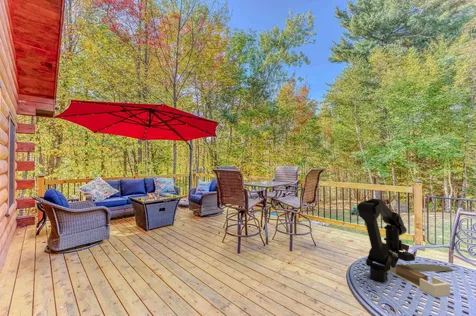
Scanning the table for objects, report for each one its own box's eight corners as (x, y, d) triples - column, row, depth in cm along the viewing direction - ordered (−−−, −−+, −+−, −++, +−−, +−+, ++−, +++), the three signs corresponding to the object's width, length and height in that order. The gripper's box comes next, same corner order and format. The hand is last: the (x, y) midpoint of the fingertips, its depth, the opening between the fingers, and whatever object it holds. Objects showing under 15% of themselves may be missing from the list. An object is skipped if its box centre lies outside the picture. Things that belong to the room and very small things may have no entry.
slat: (420, 287, 94) (420, 276, 94) (396, 273, 106) (395, 264, 106) (428, 286, 95) (427, 276, 95) (402, 273, 106) (402, 264, 107)
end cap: (435, 297, 87) (434, 285, 87) (419, 288, 93) (419, 278, 93) (450, 294, 88) (449, 283, 88) (434, 287, 94) (433, 276, 94)
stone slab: (402, 268, 116) (420, 275, 107) (401, 263, 117) (419, 269, 107) (436, 266, 120) (456, 272, 110) (435, 261, 120) (455, 267, 110)
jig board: (436, 299, 87) (435, 297, 87) (382, 269, 112) (382, 268, 112) (449, 297, 88) (449, 295, 88) (393, 268, 113) (393, 267, 113)
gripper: (423, 242, 103) (424, 274, 102) (388, 231, 121) (389, 258, 120) (404, 243, 100) (406, 277, 100) (372, 232, 119) (373, 260, 118)
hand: (393, 267), depth 109 cm, fingers closed
